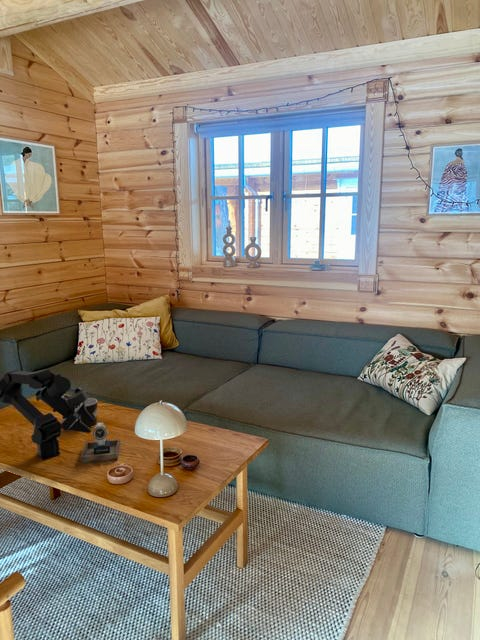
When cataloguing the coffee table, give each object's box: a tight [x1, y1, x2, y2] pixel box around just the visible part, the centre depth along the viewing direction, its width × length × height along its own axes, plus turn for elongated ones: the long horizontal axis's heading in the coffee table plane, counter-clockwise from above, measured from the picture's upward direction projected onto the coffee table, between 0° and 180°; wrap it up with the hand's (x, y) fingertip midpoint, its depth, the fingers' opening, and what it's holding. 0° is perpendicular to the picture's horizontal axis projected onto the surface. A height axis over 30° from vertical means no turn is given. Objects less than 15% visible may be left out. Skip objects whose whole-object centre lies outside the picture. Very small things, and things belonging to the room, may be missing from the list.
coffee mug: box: [81, 397, 98, 428], centre depth 198 cm, size 12×9×10 cm
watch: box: [92, 422, 111, 455], centre depth 171 cm, size 6×8×11 cm
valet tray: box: [80, 438, 122, 465], centre depth 172 cm, size 13×12×3 cm
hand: (91, 426), depth 170 cm, fingers open, 9 cm apart
